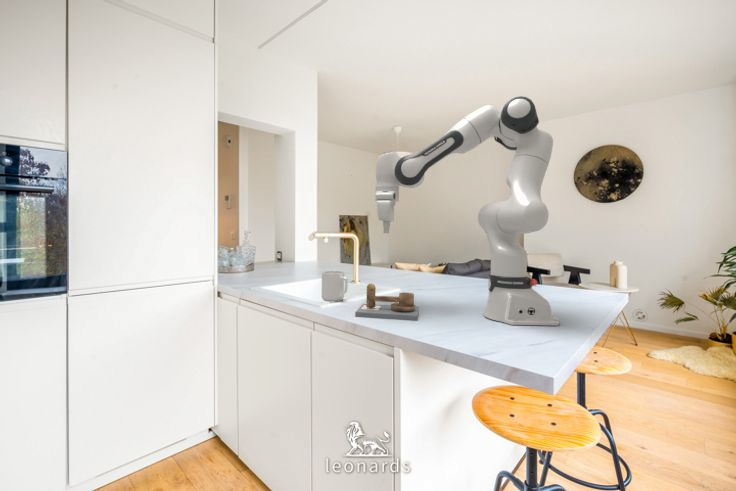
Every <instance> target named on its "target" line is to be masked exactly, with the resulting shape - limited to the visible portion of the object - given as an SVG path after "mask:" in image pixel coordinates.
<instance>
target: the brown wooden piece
mask: <svg viewBox="0 0 736 491" xmlns="http://www.w3.org/2000/svg"><path fill="white" fill-rule="evenodd" d="M376 288H377V287H376V285H375V284H374V283H368V284H367V285H366V299H365V300H366V302H365V304H366V307H370V308H373V307H375V304H376V302H379V303H380V302H383V303H391V304H390V305H391V309H392V310H395V311H402V312H407V311H413V310H415V307H416V306H415V303H414V302H415V294H414V293H413V292H400V293H399V294H398V296H390V295H376V290H377V289H376Z"/></svg>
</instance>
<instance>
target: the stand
mask: <svg viewBox="0 0 736 491" xmlns="http://www.w3.org/2000/svg"><path fill="white" fill-rule="evenodd" d="M419 308H420V307H419V306H415V310H413V311H407V312H402V311H395V310H392V309H391V304H377V303H375V307H373V308H370V307H366V303H362V304H361V305H360V306H359V307H358V309H357V310H356V311H355V314H354V315H355V316H354V317H358V318H373V319H386V320H403V321H418V318H419Z"/></svg>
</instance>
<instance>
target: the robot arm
mask: <svg viewBox="0 0 736 491" xmlns="http://www.w3.org/2000/svg"><path fill="white" fill-rule="evenodd" d="M539 122H540V120H539V117H538V113H537V109H536V106H535V103H534V102H533V101H532V99H531V98H528V97H526V96H515V97H513V98H511V99H509V100H508V101H507V102H506V103H505V104H504V106H503V108H502V110H501V111H500V110H499V109H498V108H497V107H496V106H494V105H492V104H485V105H483V106H482V107H479V108H478V109H476V110H474V111H472V112H470V113H469V114H467V115H465V117H463V118H462V119H460V120H459V121H458V122H457V123H455V124H454V125H453V126H452V127H450V129H449V130H448V131H447V132H445V134H443V135H442V136H441V137H440V138H437V140H435V141H434V142H433V143H431V144H429V145H428V146H426V147H425V148H423V149H422V150H420V151H418V152H416V153H413V154H407V155H405V156H401V155H400V154H399V153H398V152H397V151H389V152H384V153H382V154H380V155H379V156H378V157H377V161H376V166H375V178H376V184H375V199H374V200H375V202H376V205H377V206H376V207H377V210H376V211H377V218H378V221H381V222H382V227H383V234H389V233H390V228H391V223H393V222H394V220H395V206H396V203H397V202H399V201H400V187H404V188H407V189H415V188H418V187H419V186H420V185H421V184H423V182H424V179H425V173H426V172H427V171H428V170H429V169H430V168H432V167H433V166H434V165H435V164H437V163H438V162H440V161H441V160H443V159H444V158H446V157H448V156H450V155H452V154H461V155H463V154H466V153H467V152H469V151H471V150H473V149H475V148H476V147H478V146H480V145H481V144H483V142H485V141H486V140H488V139H489V138H492V137H493V138H494V141H495V142H496V143H498V144H500V145H502V146H503V147H504V148H505V149H507V150H509V151H515V153H514V155H513V159H512V160H511V163H510V166H509V169H508V172H507V174H506V176H505V182H506V185H507V186H508V188H510V194H509V197H508V199H506V200H495V201H492V202H490V203H489V202H488V203H487V204H485V205H483V206H481V208H480V209H479V211H478V214H477V221H478V224H479V226H480V227H481V228H482V229H483V231H484V233H485V234H486V237H487V241H488V244H489V249H490V273H489V275H488V282H487V284H488V286H487V288H488V291H489V292H488V296H487V297H488V298H487V303H486V307H485V310H484V313H483V316H484V317H485V318H487V319H489V320H492V321H497V322H502V323H504V324H507V325H511V326H512V325H513V326H559V325H560V319H559V318H558V317H556V316H555V315H553V313H552V307H551V305H550V303H549V301H548V300H547V299H546V298H545V297H543V296H542V295H541V294H540V293H539V292H537V291H536V290H535V289H533V286H534V287H536V286H537V285H538V283H539V282H538V281H537V279H535V278H530V277H529V276H528V275H527V271H528V269H527V268H528V253H527V250H526V249H525V248H524V247H523V246H522V244H520V242H519V239H518V234H524V235H525V234H531V233H534V232H538V231H542V230H543V229H544V228H545V227H546V225H547V223H548V221H549V210H548V207H547V205H546V204H545V202H543V200H542V196H541V193H542V192H541V191H542V186H543V181H544V179H545V175H546V172H547V170H548V167H549V164H550V160H551V157H552V153H553V146H554V138H553V136H552V135H551V133H549V132H547V131H545V130H541V129H539V128H538V125H539ZM558 324H559V325H558Z"/></svg>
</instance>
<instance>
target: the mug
mask: <svg viewBox="0 0 736 491" xmlns="http://www.w3.org/2000/svg"><path fill="white" fill-rule="evenodd" d="M348 285H349V278H348V277H346V276H345V272H344V271H341V270H324V271H322V272H321V299H322V300H323V301H324V302H331V303H334V302H340V301H342V300H343V299H344V298H345V295H346V293H347V292H348Z"/></svg>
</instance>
